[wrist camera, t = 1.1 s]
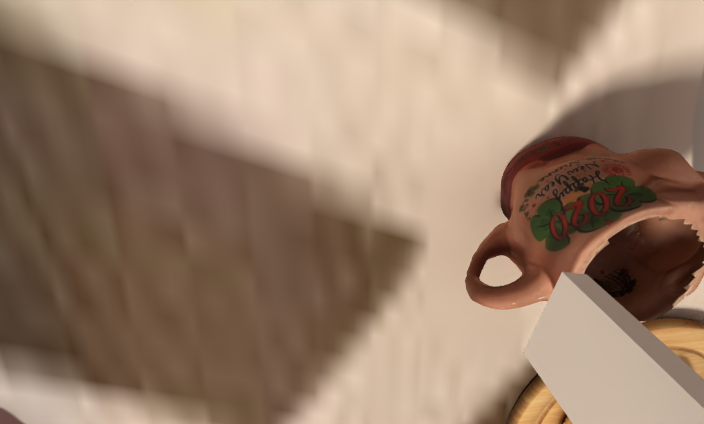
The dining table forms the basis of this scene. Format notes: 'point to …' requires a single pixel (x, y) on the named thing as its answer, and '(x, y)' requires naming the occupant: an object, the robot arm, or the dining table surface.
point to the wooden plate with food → (677, 334)
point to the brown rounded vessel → (597, 226)
